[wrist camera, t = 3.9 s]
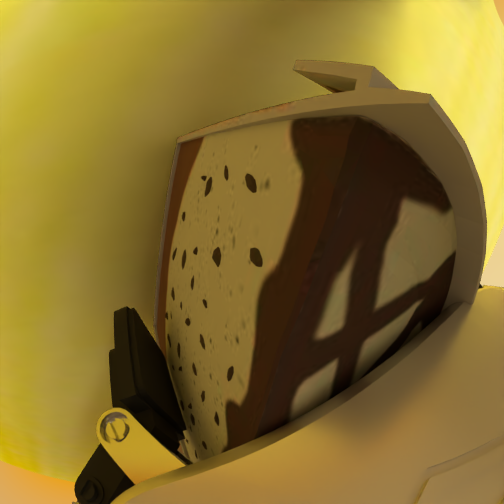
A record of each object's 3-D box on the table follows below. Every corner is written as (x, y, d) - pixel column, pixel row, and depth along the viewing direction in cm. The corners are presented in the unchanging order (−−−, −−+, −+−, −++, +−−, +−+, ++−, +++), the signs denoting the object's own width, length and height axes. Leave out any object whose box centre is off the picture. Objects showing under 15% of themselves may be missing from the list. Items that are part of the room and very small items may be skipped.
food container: (251, 340, 17) (339, 473, 8) (152, 346, 14) (208, 522, 6) (311, 136, 12) (522, 201, 4) (186, 102, 9) (436, 39, 1)
